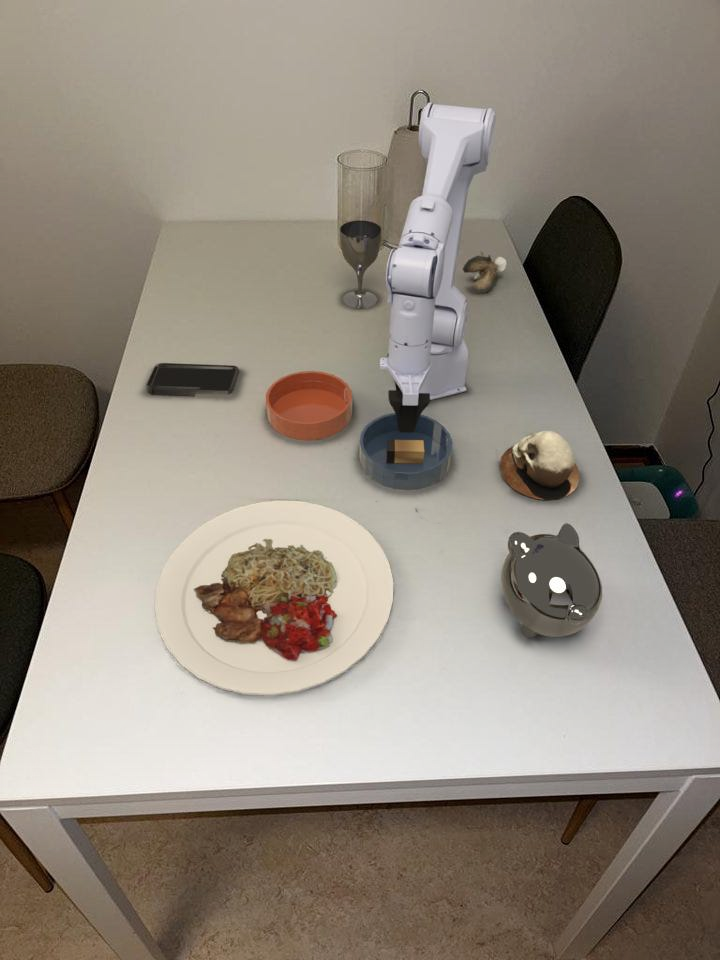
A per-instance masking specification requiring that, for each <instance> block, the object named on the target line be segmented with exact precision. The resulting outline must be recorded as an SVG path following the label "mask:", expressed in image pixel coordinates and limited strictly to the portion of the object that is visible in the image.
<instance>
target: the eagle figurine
mask: <svg viewBox="0 0 720 960" xmlns="http://www.w3.org/2000/svg"><path fill="white" fill-rule="evenodd" d="M506 267H507V260H506V258H504V257H503V256H497V257H496V258H495V260H493V259H492V258H491V255H490V254H488V255H487V256H485V254H484V252H483V251H482V250H480V255H476V256H474V257H471V258H469V259H468V260H467V261H466V262H465V264H464V265H463V267H462V271H463V273H467V274H469V273H473V274H474V273H475V275H474V277H473V279H472V280H473V281H475V280H476V281H475V282H474V283H473V284H472V285H470V286H469V290H470V291H471V293H473V294H484V293H487V292H489V291H490V290H491V289H492V288H493V287H494V286H495V284H496V283H497V282H498V279H499V275H498V273H497V272H502V273H503V272H504V271H505V269H506Z"/></svg>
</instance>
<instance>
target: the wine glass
mask: <svg viewBox="0 0 720 960" xmlns="http://www.w3.org/2000/svg"><path fill="white" fill-rule="evenodd" d="M339 242H340V243H339V244H340V249H341V253H342V256H343V259H344V261H346V263H347V264H348V265H349V266H350V268H352V269H353V271H354V272H355V274H356V278H357V290H353V291H351V292H348V293H345V294H344V296H343V297H342V302H343V304H344V305H345V306H347V307H348V308H351V309H358V310H359V309H361V310H362V309H368V308H372V307H374V306H375V305H376V304H377V302H378V298H377V296H376V295H375V293H372V292H370V291H366V290H363V280H364V276H365V273H366V271H367V270H368V269H369V268H370V267H371V266H372V265H373V264H374V263H375V262H376V261H377V258H378V256H379V252H380V249H381V243H382V228H381V226H380V225H379V224H377V223H376V222H373V221H370V220H362V219H361V220H359V219H357V220H351V221H348V222H347V221H346V222H345V223H342V224H341V225H340V227H339Z"/></svg>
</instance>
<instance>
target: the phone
mask: <svg viewBox="0 0 720 960" xmlns="http://www.w3.org/2000/svg"><path fill="white" fill-rule="evenodd" d="M239 374H240V369H239V367H238V366H237V365H228V364H201V363H199V364H198V363H173V362H159V363H157V364H155V366H154V367H153V369H152V371H151V374H150V376H149V378H148V380H147V383H146V384H145V388H146V390H147V393H148V394H150V395H162V396H187V397H189V396H190V397H195V396H196V395H208V396H209V395H210V396H211V395H212V396H229V395H231V394H233V393H234V391H235V387H236V384H237V381H238V378H239Z"/></svg>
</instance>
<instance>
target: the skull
mask: <svg viewBox="0 0 720 960" xmlns="http://www.w3.org/2000/svg"><path fill="white" fill-rule="evenodd" d="M499 470H500V473H501V476H502V477H503V479H504V481H505V482H506V483H507V484H508V486H510V487H511V488H512V489H513V490H515V491H516V492H517V493H520V494H522V495H524V496H527V497H528V498H532V499H535V500H536V499H537V500H544V501H556V500H560V499H563V498H566V497H567V496H570V495H571V494H572V493H574V491H575V490H576V489H577V487H578V486H579V483H580V476H581V475H580V470H579V468H578V465H577V463H576V462H575V456H574V453H573V450H572V448H571V446H570V444H569V443H568V442H567V441H566V439H564V437H563V436H562V435H561V434H559V433H557V432H555V431H553V430H542V431H538V432H537V431H536V432H534V433H532V434H529V435H528V436H524V437H522V438H521V439H520V440H519V442H517V443H515V444H514V445H513V446H511V447H508V448H507V449H506V450H505V451H504V453H502V455H501V457H500V461H499Z"/></svg>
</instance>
